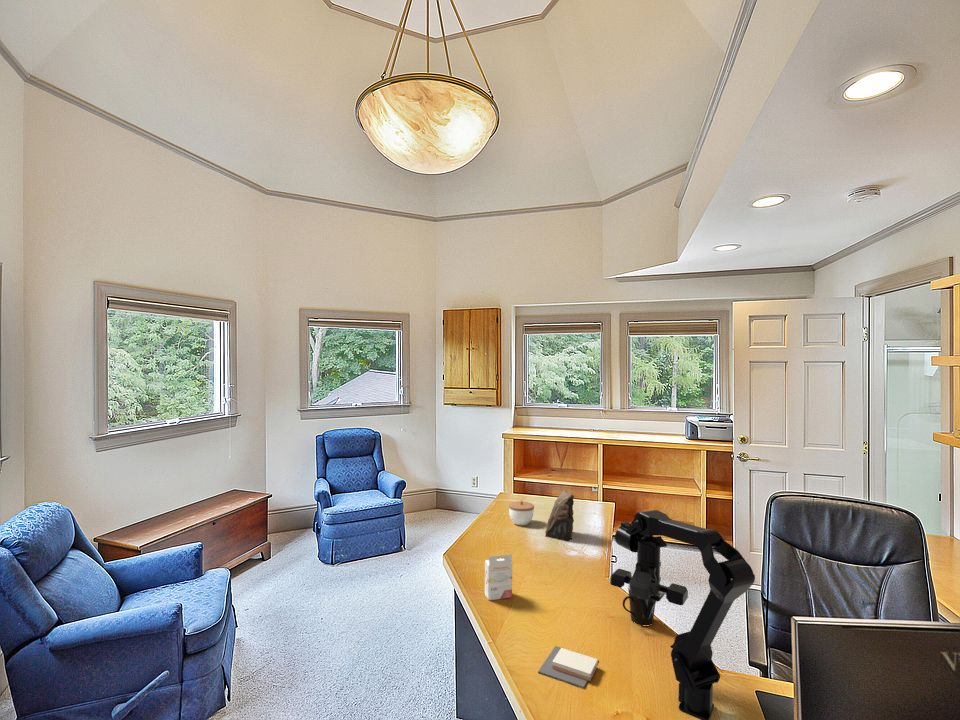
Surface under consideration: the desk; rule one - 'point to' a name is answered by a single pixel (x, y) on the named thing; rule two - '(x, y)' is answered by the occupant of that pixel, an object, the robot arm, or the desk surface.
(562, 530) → the brown rock
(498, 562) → the ink cartridge box
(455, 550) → the desk surface
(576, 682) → the gray pad
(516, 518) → the lidded bowl
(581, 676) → the tile
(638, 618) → the coffee mug
